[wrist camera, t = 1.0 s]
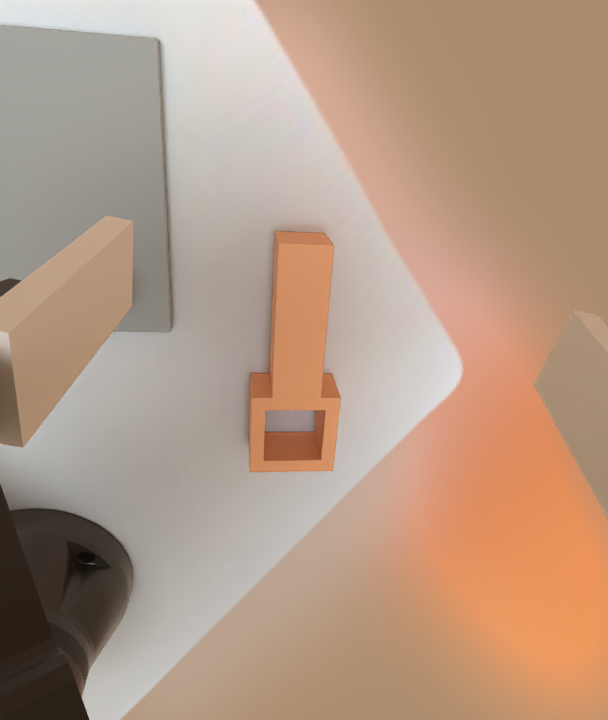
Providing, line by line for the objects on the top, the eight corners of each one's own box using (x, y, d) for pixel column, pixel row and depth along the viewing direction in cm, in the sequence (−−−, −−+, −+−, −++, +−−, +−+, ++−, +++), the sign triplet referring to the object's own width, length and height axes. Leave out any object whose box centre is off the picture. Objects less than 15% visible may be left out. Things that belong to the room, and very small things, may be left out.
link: (325, 441, 44) (333, 470, 41) (249, 442, 43) (249, 472, 40) (344, 233, 37) (356, 246, 33) (253, 230, 36) (255, 242, 33)
